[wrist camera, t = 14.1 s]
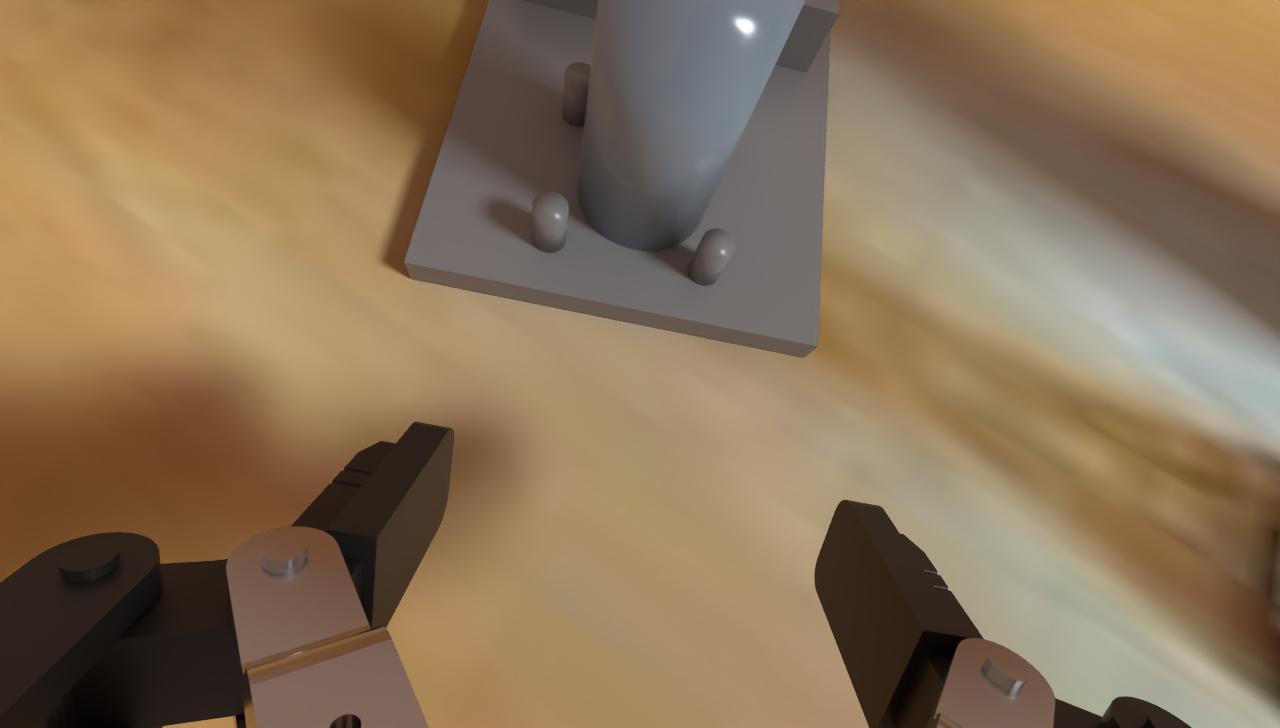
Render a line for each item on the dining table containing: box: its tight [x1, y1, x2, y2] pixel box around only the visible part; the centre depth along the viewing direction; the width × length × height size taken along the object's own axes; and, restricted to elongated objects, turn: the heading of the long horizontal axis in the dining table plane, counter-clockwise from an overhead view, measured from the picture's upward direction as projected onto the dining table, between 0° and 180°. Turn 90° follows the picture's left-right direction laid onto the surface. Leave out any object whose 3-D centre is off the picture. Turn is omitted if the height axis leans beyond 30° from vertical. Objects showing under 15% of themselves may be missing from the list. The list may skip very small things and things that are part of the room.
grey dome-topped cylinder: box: [577, 0, 806, 251], centre depth 19 cm, size 5×5×10 cm
